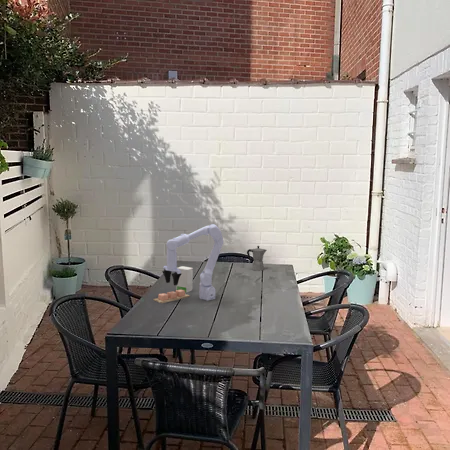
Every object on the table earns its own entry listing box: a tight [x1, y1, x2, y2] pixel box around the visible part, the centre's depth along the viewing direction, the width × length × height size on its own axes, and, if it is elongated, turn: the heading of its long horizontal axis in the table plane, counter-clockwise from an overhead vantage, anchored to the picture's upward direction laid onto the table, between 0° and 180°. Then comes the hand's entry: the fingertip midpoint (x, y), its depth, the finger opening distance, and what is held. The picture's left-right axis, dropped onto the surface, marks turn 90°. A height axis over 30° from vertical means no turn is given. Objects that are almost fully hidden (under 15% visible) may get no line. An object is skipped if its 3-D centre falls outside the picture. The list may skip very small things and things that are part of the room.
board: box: [153, 293, 191, 304], centre depth 275 cm, size 8×20×2 cm, turn 132°
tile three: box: [157, 292, 168, 301], centre depth 270 cm, size 4×4×4 cm
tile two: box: [166, 290, 177, 299], centre depth 274 cm, size 4×4×4 cm
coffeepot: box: [246, 245, 267, 272], centre depth 355 cm, size 15×9×18 cm, turn 103°
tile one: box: [174, 289, 186, 297], centre depth 278 cm, size 4×4×4 cm
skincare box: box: [175, 265, 194, 294], centre depth 291 cm, size 8×7×16 cm
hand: (171, 283), depth 274 cm, fingers open, 7 cm apart
